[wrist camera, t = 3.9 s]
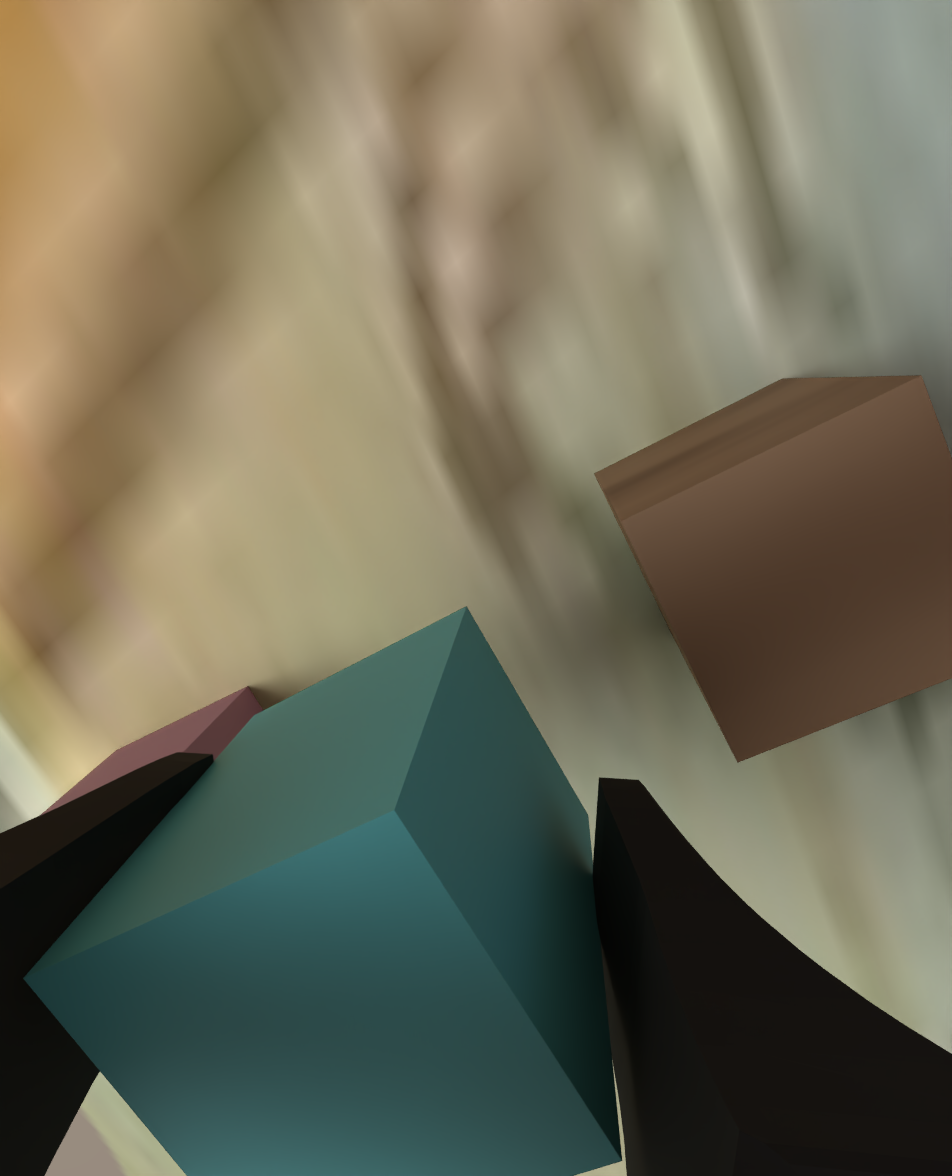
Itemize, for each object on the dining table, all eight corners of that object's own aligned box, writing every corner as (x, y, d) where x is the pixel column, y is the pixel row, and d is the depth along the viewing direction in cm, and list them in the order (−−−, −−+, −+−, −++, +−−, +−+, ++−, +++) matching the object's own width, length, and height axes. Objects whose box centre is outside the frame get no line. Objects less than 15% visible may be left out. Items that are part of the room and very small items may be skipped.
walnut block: (855, 556, 16) (1022, 650, 11) (673, 637, 17) (738, 762, 12) (781, 379, 16) (921, 375, 10) (594, 473, 16) (620, 521, 11)
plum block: (334, 820, 20) (248, 999, 14) (204, 876, 21) (73, 1065, 15) (248, 685, 19) (118, 817, 13) (116, 749, 20) (-59, 899, 14)
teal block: (587, 814, 13) (622, 1160, 7) (380, 903, 14) (263, 1269, 8) (466, 606, 12) (394, 809, 6) (253, 715, 13) (22, 978, 7)
